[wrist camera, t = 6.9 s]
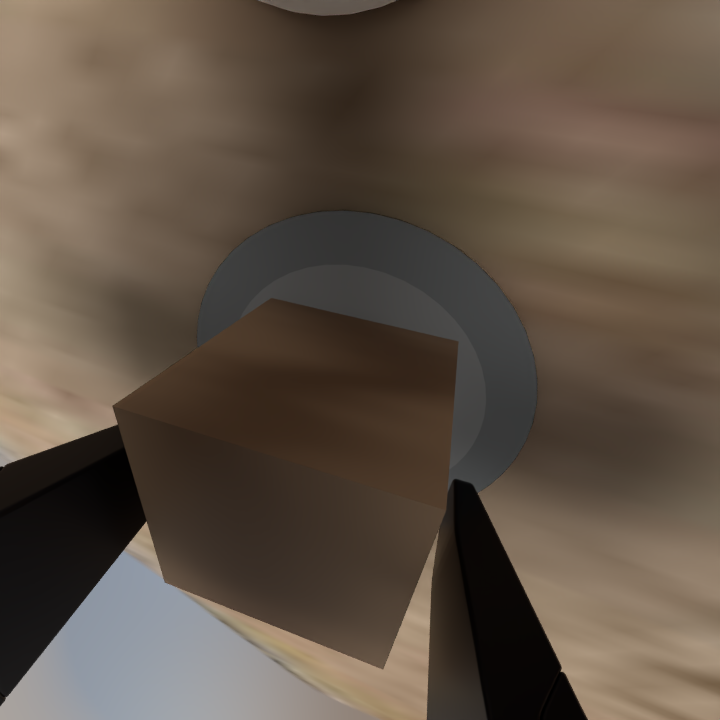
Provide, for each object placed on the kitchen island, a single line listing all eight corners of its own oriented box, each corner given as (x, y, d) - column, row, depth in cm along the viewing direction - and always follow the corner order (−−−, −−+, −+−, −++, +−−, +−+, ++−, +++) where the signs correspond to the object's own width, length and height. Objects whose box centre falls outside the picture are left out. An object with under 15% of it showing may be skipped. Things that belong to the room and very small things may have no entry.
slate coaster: (614, 255, 7) (616, 257, 7) (472, 546, 12) (472, 549, 12) (177, 179, 9) (173, 179, 9) (214, 463, 14) (212, 465, 14)
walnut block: (458, 341, 9) (446, 510, 4) (416, 479, 11) (383, 669, 7) (271, 297, 10) (112, 405, 5) (271, 435, 12) (165, 582, 8)
